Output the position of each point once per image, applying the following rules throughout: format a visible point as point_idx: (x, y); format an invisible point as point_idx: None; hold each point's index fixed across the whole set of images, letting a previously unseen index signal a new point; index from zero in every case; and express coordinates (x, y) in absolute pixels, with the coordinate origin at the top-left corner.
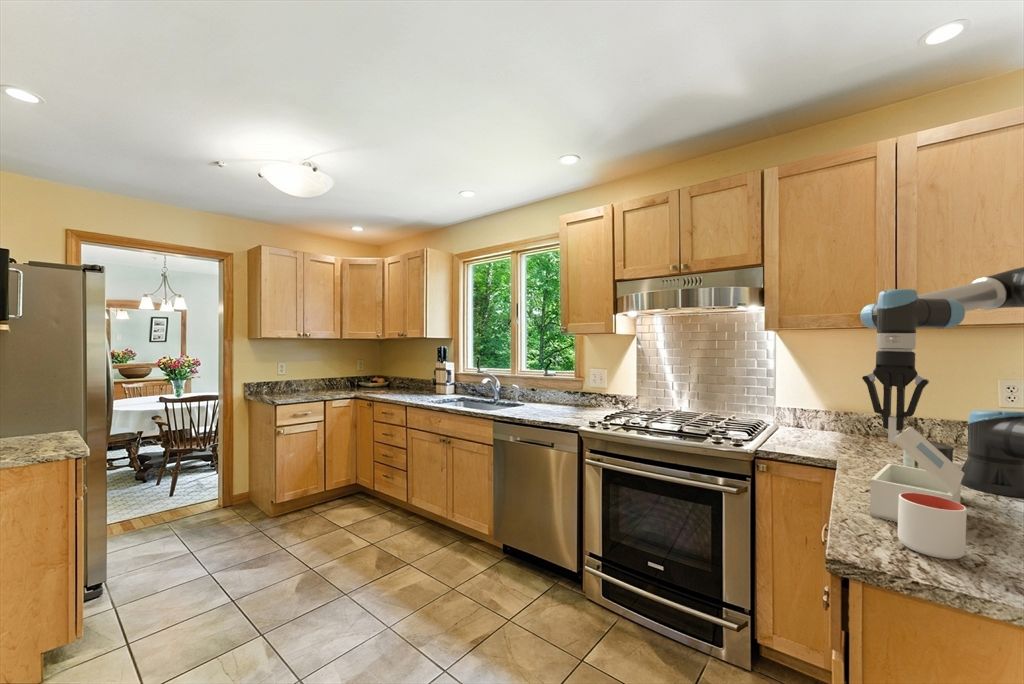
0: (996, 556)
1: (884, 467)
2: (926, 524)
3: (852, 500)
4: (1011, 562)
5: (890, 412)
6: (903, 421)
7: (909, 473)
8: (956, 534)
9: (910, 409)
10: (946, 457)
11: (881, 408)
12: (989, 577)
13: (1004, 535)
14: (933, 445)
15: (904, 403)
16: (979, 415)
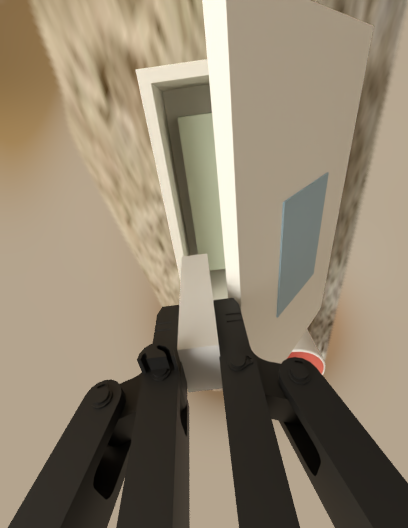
0: (327, 281)
1: (158, 170)
2: None
3: (134, 213)
4: (338, 286)
5: (180, 387)
6: (247, 340)
7: (204, 77)
8: (301, 356)
9: (314, 452)
10: (348, 21)
11: (114, 410)
12: (313, 338)
13: (355, 173)
14: None
15: (285, 476)
16: None
